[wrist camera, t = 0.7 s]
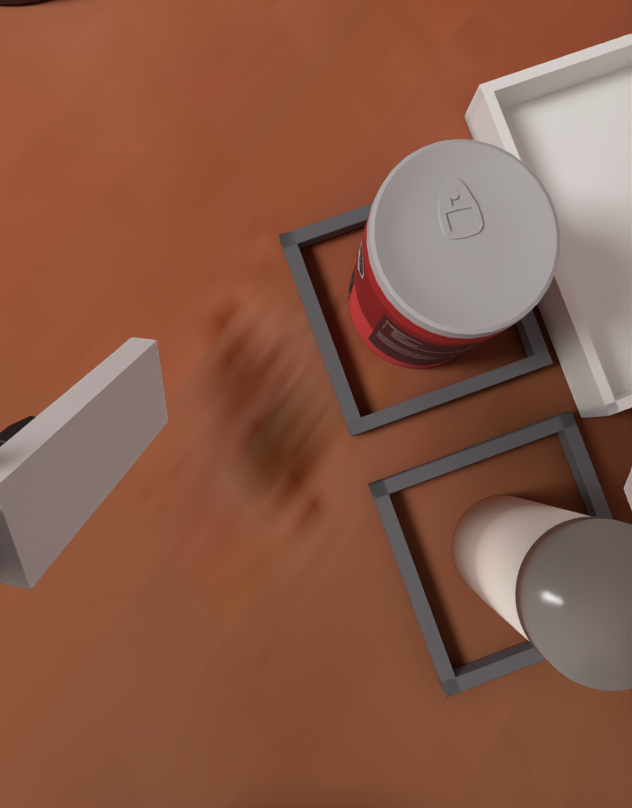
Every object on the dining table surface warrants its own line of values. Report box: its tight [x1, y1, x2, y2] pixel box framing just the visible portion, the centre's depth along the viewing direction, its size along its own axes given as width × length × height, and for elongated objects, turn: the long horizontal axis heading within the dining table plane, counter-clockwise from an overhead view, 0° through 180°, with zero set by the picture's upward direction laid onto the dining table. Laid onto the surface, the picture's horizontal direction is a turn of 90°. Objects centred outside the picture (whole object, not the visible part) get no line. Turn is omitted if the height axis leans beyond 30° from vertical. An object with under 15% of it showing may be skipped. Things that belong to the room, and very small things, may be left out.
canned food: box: [349, 139, 560, 369], centre depth 28 cm, size 8×8×11 cm
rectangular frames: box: [279, 203, 614, 697], centre depth 32 cm, size 27×12×1 cm, turn 20°
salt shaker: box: [452, 495, 632, 691], centre depth 27 cm, size 6×6×11 cm
